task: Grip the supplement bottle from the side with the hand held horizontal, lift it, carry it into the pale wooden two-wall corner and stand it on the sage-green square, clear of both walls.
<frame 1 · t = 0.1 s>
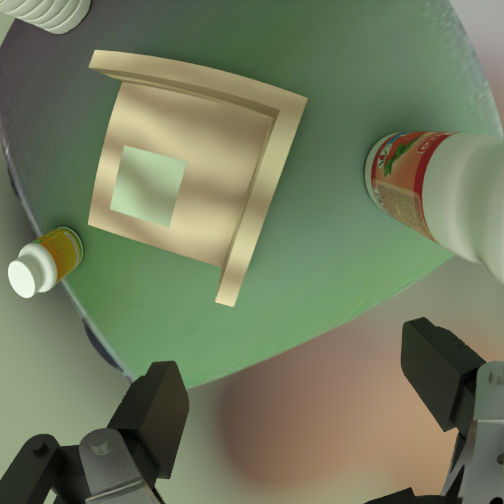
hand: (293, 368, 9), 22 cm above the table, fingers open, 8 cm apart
fruit juice: (399, 174, 29), on the table
water bottle: (63, 17, 21), on the table
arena: (170, 171, 29), on the table
supplement bottle: (67, 246, 32), on the table
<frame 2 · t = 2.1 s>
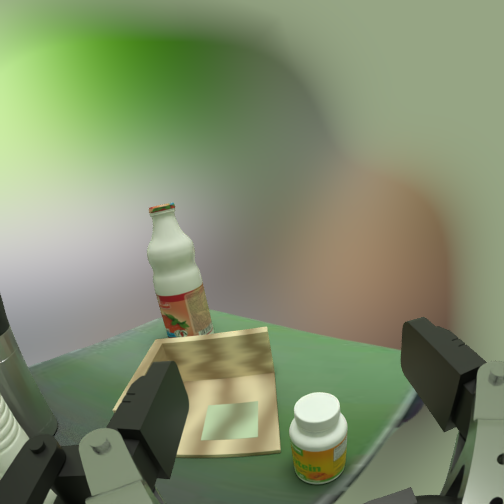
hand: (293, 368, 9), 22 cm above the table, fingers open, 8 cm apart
fruit juice: (193, 342, 59), on the table
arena: (218, 414, 36), on the table
supplement bottle: (320, 467, 25), on the table
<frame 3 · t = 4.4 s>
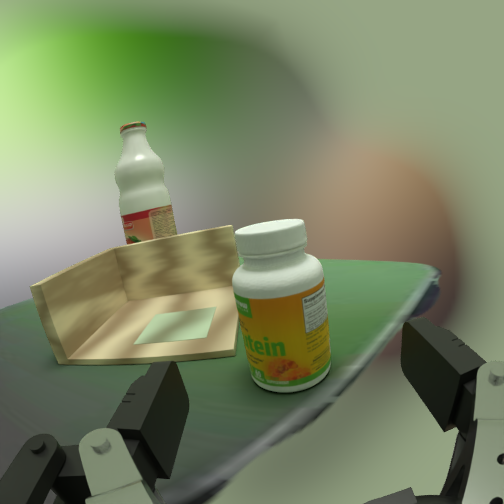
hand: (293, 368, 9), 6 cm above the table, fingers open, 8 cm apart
fruit juice: (160, 276, 53), on the table
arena: (165, 324, 30), on the table
supplement bottle: (291, 372, 19), on the table
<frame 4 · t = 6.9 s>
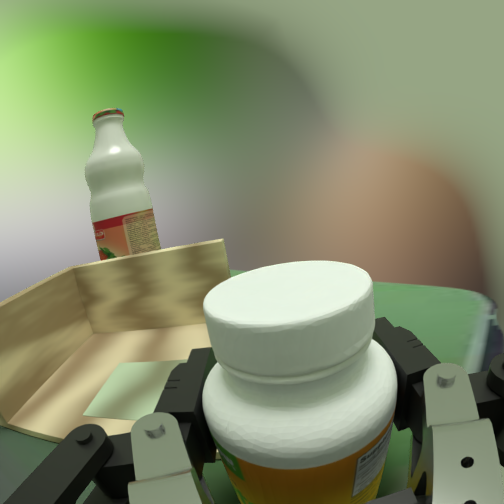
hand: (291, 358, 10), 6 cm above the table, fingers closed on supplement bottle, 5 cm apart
fruit juice: (141, 294, 43), on the table
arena: (131, 379, 20), on the table
supplement bottle: (310, 500, 9), on the table, touching gripper
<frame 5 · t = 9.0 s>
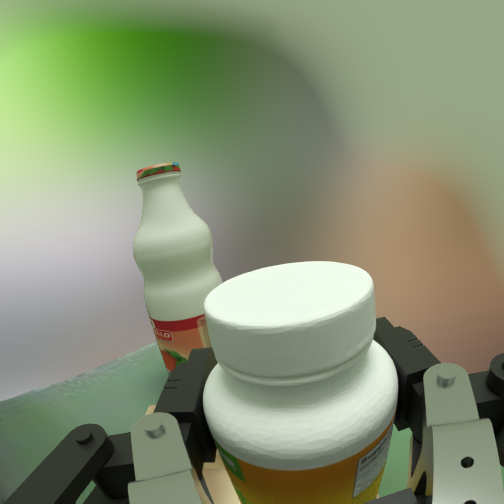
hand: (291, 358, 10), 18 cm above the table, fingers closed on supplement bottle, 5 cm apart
fruit juice: (210, 386, 37), on the table
supplement bottle: (311, 500, 9), point 11 cm above the table, touching gripper
when the fingers open (7 cm above the table, at t = 11.6 s): supplement bottle stays where it is, resting on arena.
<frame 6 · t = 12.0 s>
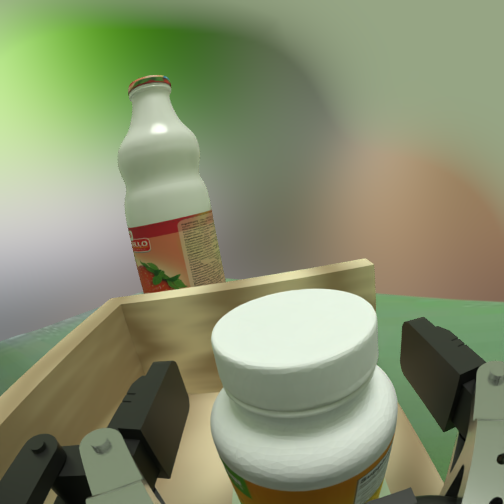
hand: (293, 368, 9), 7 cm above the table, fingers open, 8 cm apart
fruit juice: (193, 321, 34), on the table
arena: (266, 486, 11), on the table
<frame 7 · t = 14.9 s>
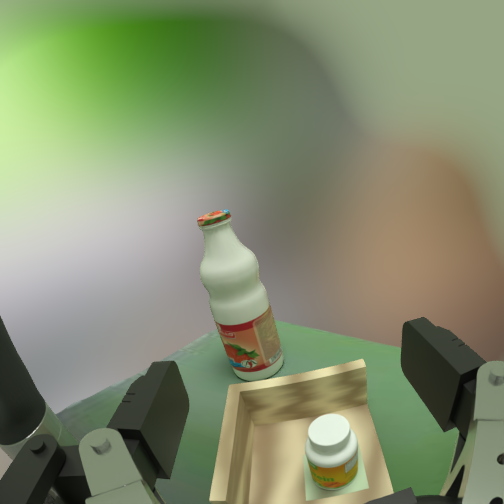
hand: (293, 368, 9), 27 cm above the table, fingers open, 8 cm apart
fruit juice: (259, 365, 52), on the table
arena: (316, 464, 29), on the table
supplement bottle: (335, 473, 26), resting on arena
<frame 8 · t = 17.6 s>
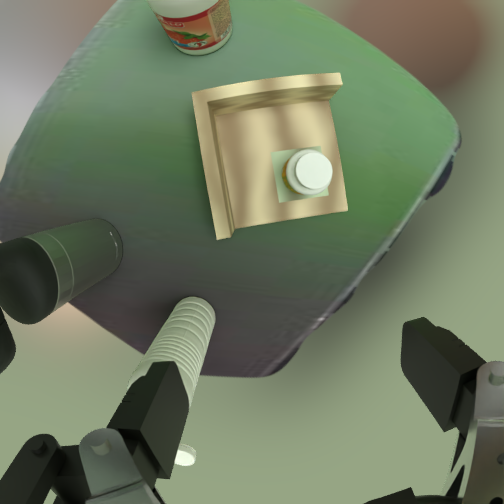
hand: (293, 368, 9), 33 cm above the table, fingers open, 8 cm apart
fruit juice: (202, 32, 36), on the table
water bottle: (200, 320, 45), on the table
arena: (282, 161, 40), on the table
supplement bottle: (300, 174, 40), resting on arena
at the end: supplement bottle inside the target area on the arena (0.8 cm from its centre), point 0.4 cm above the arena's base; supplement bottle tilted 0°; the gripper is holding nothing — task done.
